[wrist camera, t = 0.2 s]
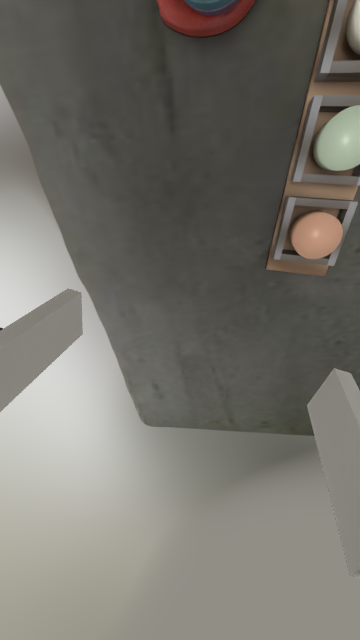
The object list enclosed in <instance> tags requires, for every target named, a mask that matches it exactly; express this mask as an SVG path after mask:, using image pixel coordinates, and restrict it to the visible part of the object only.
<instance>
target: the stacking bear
mask: <svg viewBox="0 0 360 640" xmlns="http://www.w3.org/2000/svg"><path fill="white" fill-rule="evenodd" d="M156 1H157V5H158V7H159V11H160V15H161V18H162V20H163V21H164V23H165V24H166V25H167V26H169V27H170V28H172V29H173V30H175V31H177V32H180V33H182V34H185V35H189V36H196V37H204V36H212V35H216V34H219V33H222V32H224V31H226V30H228V29H230V28H232V27H234V26H235V25H236V24H237V23H239V22H240V21H241V20H242V19H243V18H244V17H245V16H246V14H247V13H248V12H249V10H250V9H251V7H252V6H253V4H254V2H255V1H256V0H156Z"/></svg>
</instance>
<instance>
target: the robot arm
mask: <svg viewBox="0 0 360 640" xmlns="http://www.w3.org/2000/svg"><path fill="white" fill-rule="evenodd" d="M81 335H82V304H81V292H78V291H74V290H71V289H67V290H65V291H64V292H62V293H60V294H59V295H57V296H55V297H54V298H52V299H51V300H49V301H47V302H46V303H44V304H42V305H41V306H39V307H38V308H36V309H35V310H33V311H31V312H30V313H28V314H27V315H25V316H23V317H22V318H20V319H18V320H17V321H15V322H14V323H12V324H10V325H9V326H7V327H6V328H4V329H3V328H0V412H1V411H2V410H3V409H4V408H5V407H6V406H7V405H8V404H9V403H10V402H11V401H12V400H13V399H14V398H15V397H16V396H18V395H19V394H20V393H21V392H22V391H23V390H24V389H25V388H26V387H27V386H28V385H29V384H30V383H31V382H32V381H33V380H34V379H35V378H37V376H39V374H41V373H42V372H43V371H44V370H45V369H46V368H47V367H48V366H49V365H50V364H51V363H52V362H53V361H54V360H55V359H57V358H58V357H59V356H60V355H61V354H62V353H63V352H64V351H65V350H66V349H67V348H68V347H69V346H70V345H71V344H72V343H73V342H74V341H75V340H77V338H79V337H80V336H81ZM307 407H308V411H309V415H310V419H311V423H312V427H313V431H314V435H315V439H316V443H317V447H318V451H319V455H320V459H321V463H322V467H323V471H324V475H325V479H326V483H327V487H328V491H329V495H330V499H331V503H332V507H333V511H334V515H335V519H336V523H337V527H338V531H339V535H340V539H341V543H342V547H343V551H344V555H345V559H346V563H347V567H348V570H349V575H351V576H354V577H356V578H359V579H360V390H359V388H358V387H357V385H356V383H355V381H354V379H353V377H352V375H351V373H348V372H345V371H341V370H338V369H335V368H334V369H333V371H332V372H331V373H330V375H329V376H328V377H327V379H326V380H325V381H324V383H323V384H322V386H321V387H320V388H319V390H318V391H317V392H316V394H315V395H314V396H313V398H312V399H311V401H310V402H309V403H308V405H307Z"/></svg>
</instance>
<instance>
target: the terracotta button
mask: <svg viewBox="0 0 360 640" xmlns="http://www.w3.org/2000/svg"><path fill="white" fill-rule="evenodd" d="M342 235H343V229H342V225H341V223H340V221H339V220H338V219H337V218H336V217H334V216H332V215H330V214H328V213H326V212H324V211H319V210H315V211H309V212H307V213H305V214H303V215H301V216H300V217H299V218H298V219H297V220H296V221H295V222H294V224H293V225H292V227H291V230H290V241H291V243H292V245H293V247H294V248H295V250H296V251H297V253H298V254H299V255H301V256H302V257H304V258H307V259H319V258H322V257H325V256H327V255H329V254H330V253H332V252H333V251H334V250H335V249H336V248H337V246H338V245H339V243H340V241H341V239H342Z"/></svg>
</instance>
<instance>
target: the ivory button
mask: <svg viewBox="0 0 360 640" xmlns="http://www.w3.org/2000/svg"><path fill="white" fill-rule="evenodd" d="M346 37H347V41H348V44H349V46H350V48H351V49H352V50H353V51H354V52H355V53H357V54H359V55H360V0H355V1H354V3H353V5H352V7H351V9H350V12H349V15H348V19H347V24H346Z"/></svg>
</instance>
